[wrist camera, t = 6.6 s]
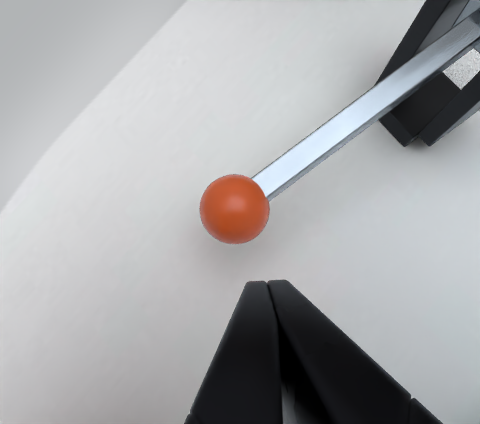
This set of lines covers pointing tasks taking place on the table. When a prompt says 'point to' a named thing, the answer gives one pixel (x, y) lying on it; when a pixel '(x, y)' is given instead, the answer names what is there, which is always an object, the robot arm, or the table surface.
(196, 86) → the table surface
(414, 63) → the switch
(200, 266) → the table surface
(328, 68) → the table surface
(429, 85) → the switch bracket
